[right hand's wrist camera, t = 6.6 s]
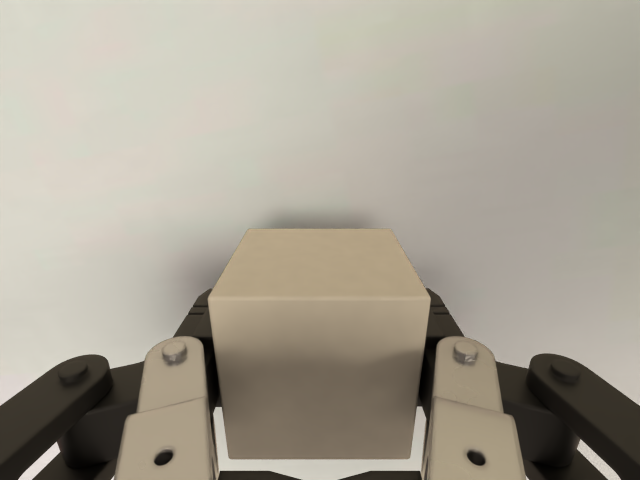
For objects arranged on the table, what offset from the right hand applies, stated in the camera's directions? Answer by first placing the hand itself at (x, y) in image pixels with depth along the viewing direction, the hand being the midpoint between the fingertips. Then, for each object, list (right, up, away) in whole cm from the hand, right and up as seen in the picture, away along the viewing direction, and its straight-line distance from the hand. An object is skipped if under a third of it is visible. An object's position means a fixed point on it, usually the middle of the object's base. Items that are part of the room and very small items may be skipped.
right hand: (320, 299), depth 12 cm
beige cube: (0, 0, 0) cm, 0 cm away
